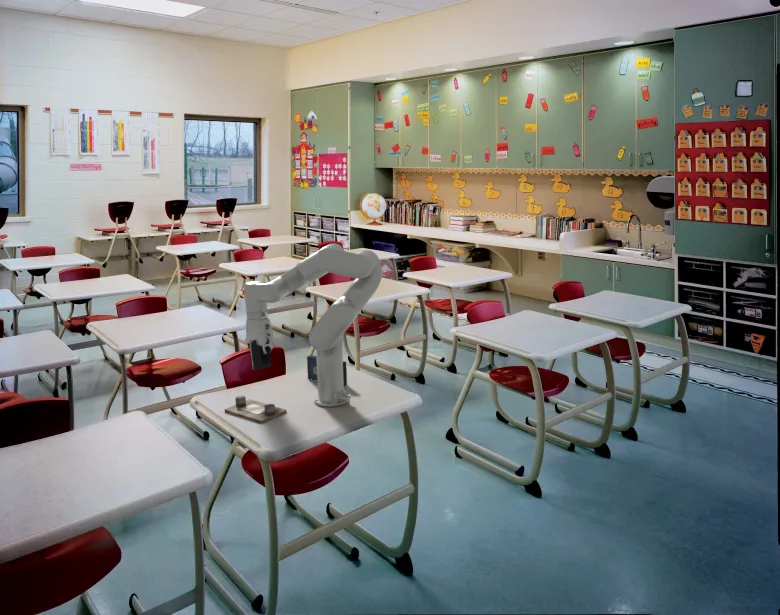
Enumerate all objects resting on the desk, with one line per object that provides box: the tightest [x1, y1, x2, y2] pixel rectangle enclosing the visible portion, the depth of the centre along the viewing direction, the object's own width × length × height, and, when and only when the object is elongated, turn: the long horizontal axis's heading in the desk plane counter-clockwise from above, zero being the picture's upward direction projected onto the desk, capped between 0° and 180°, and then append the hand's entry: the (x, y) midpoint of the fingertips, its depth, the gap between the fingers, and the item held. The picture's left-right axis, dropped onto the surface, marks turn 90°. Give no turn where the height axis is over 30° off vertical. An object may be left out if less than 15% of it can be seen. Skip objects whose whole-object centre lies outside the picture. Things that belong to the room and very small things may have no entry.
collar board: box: [224, 395, 287, 424], centre depth 229 cm, size 19×12×4 cm, turn 55°
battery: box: [249, 340, 272, 371], centre depth 238 cm, size 7×4×11 cm, turn 114°
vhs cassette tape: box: [306, 354, 348, 387], centre depth 258 cm, size 18×3×10 cm, turn 57°
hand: (261, 361), depth 239 cm, fingers closed on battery, 5 cm apart
